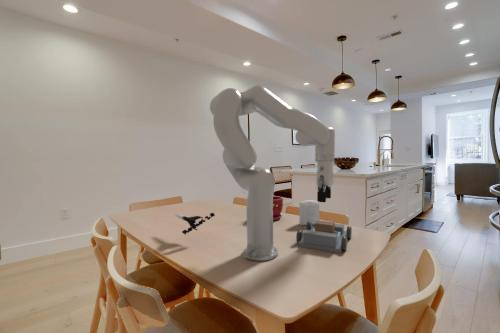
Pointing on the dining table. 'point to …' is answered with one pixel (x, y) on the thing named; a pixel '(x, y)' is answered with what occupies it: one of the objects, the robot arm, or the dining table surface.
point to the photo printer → (308, 212)
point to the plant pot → (278, 209)
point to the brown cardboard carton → (325, 226)
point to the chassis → (324, 238)
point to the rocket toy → (193, 221)
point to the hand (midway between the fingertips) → (324, 199)
